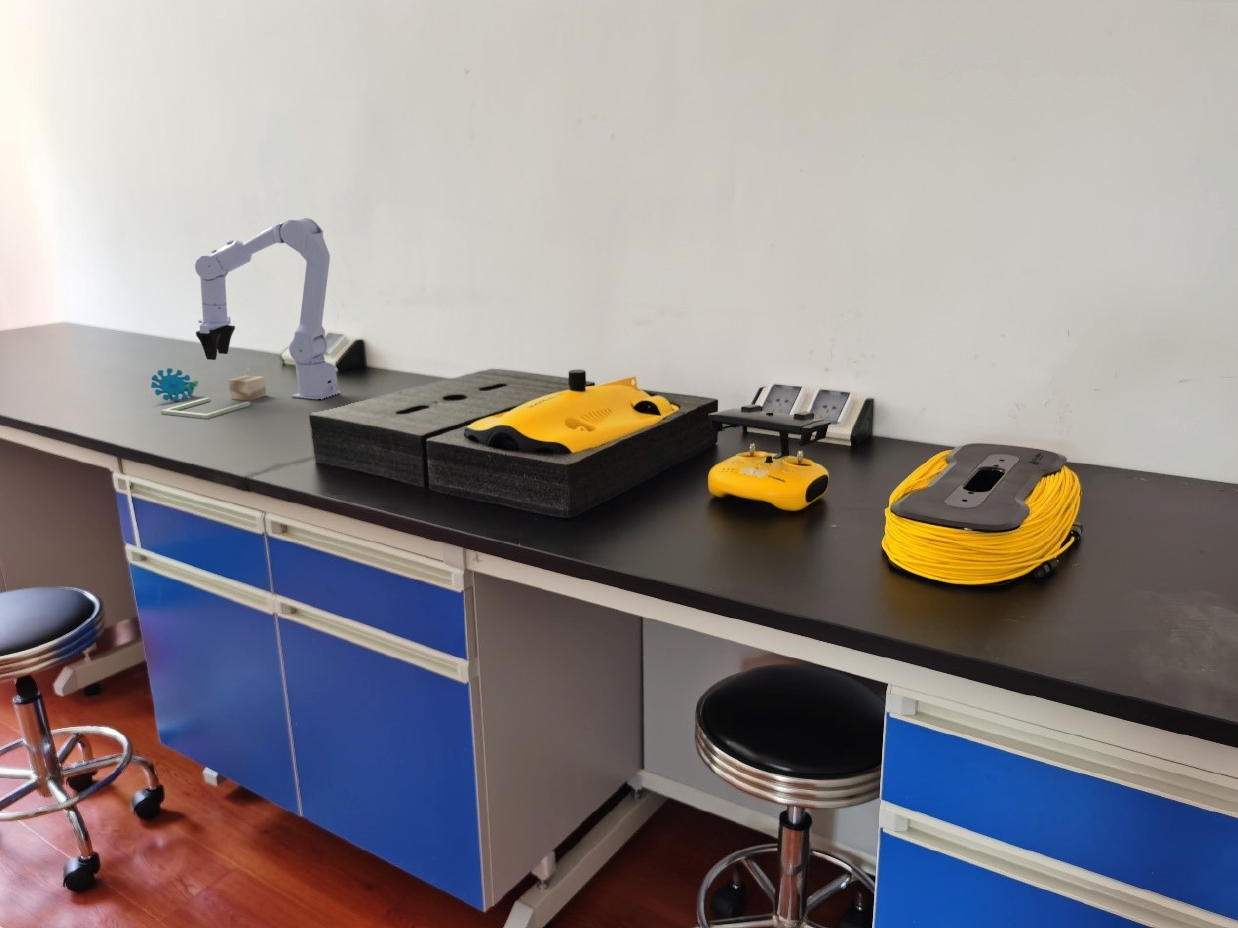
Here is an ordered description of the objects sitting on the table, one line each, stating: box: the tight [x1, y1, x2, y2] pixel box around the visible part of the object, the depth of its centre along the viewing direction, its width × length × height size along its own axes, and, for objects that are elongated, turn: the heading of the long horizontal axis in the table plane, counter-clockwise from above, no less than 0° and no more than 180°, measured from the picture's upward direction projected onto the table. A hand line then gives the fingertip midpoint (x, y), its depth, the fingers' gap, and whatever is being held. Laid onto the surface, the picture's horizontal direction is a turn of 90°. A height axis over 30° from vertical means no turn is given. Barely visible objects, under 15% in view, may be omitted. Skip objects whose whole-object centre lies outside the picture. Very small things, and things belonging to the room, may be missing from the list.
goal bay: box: [160, 397, 251, 420], centre depth 221 cm, size 14×14×1 cm
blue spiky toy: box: [150, 368, 199, 403], centre depth 233 cm, size 11×6×10 cm
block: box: [228, 375, 267, 401], centre depth 233 cm, size 6×6×5 cm
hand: (217, 356), depth 234 cm, fingers open, 7 cm apart
